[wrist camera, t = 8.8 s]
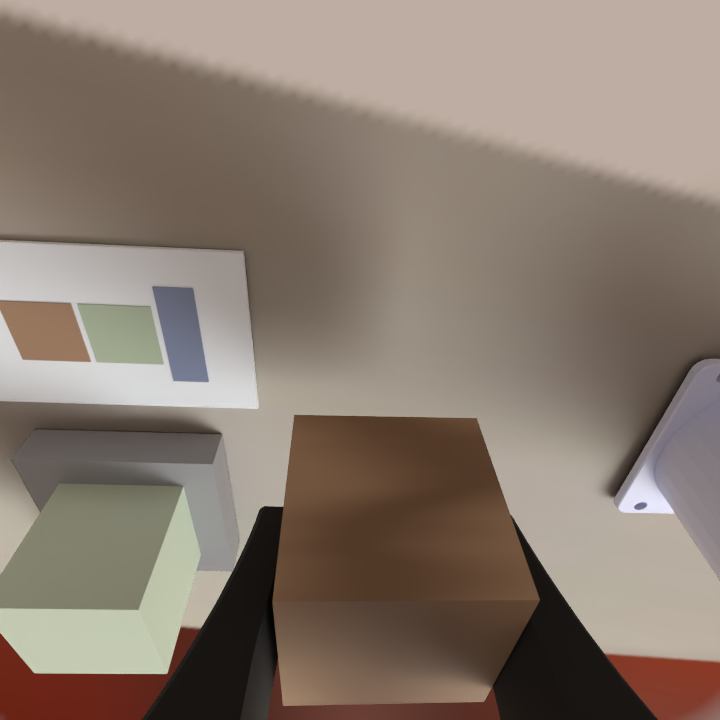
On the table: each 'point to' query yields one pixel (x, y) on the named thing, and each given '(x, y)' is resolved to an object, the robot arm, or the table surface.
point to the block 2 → (395, 564)
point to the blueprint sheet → (125, 325)
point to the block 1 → (101, 580)
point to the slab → (141, 475)
